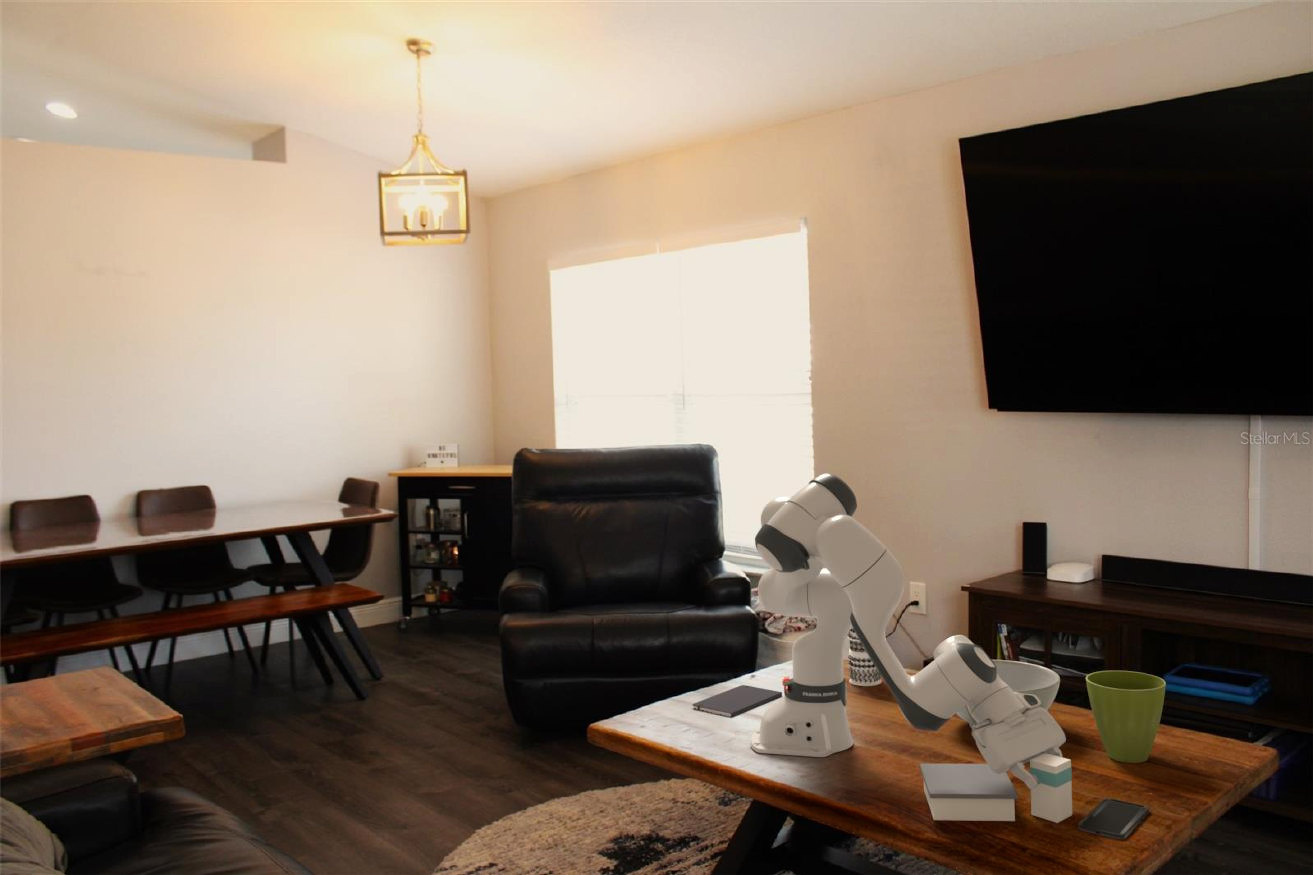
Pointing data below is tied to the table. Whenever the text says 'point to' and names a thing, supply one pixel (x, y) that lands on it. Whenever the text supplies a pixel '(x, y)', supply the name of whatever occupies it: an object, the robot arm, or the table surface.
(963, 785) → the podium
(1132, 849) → the table surface
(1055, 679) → the decorative bowl
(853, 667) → the decorative candle
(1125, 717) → the flower pot
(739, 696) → the notebook
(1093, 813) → the phone
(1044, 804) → the carton
